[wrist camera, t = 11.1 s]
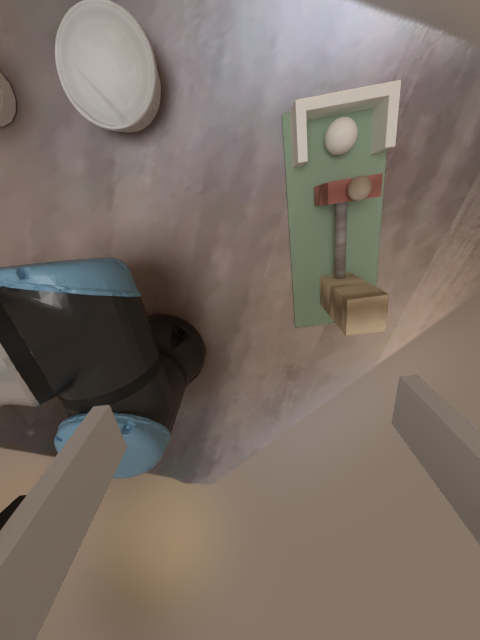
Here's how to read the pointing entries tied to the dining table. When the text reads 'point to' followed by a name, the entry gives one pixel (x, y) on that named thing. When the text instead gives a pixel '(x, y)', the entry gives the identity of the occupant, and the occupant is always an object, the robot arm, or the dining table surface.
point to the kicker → (345, 288)
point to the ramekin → (107, 66)
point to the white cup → (6, 102)
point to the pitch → (330, 213)
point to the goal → (347, 101)
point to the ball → (341, 135)
